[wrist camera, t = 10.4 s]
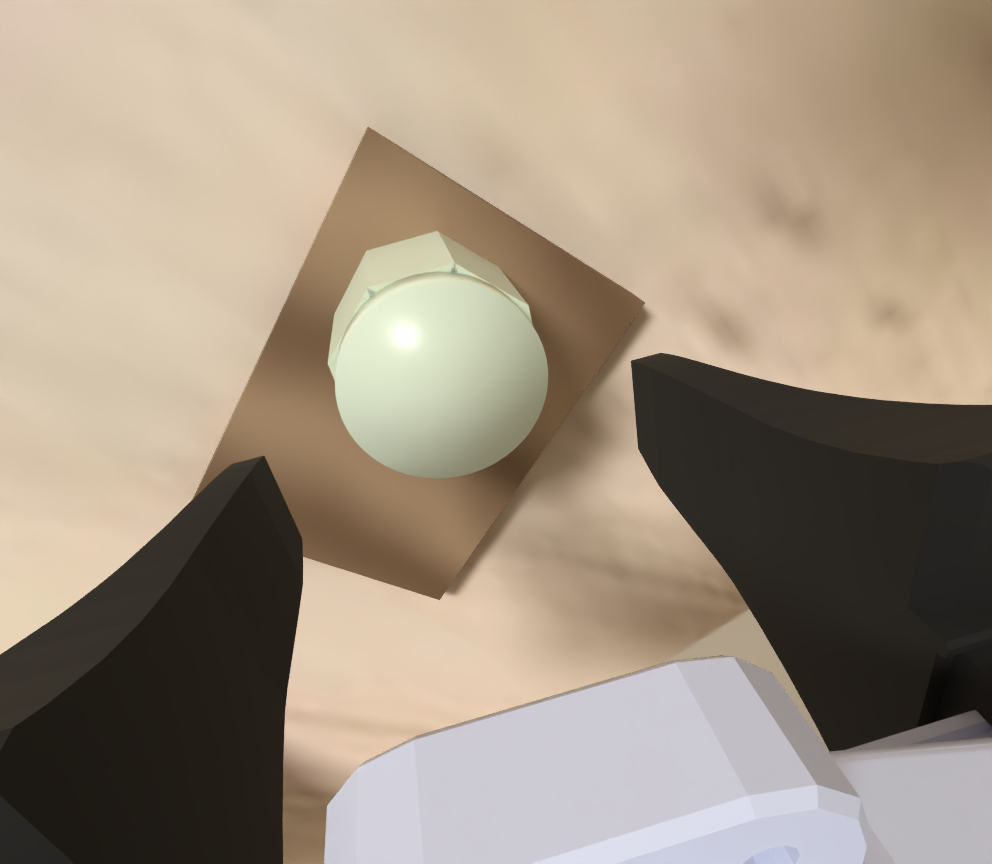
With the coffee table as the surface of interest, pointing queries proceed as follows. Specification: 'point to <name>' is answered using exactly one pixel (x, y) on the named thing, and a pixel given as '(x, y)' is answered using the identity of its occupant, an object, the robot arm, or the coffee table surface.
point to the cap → (435, 359)
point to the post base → (311, 387)
